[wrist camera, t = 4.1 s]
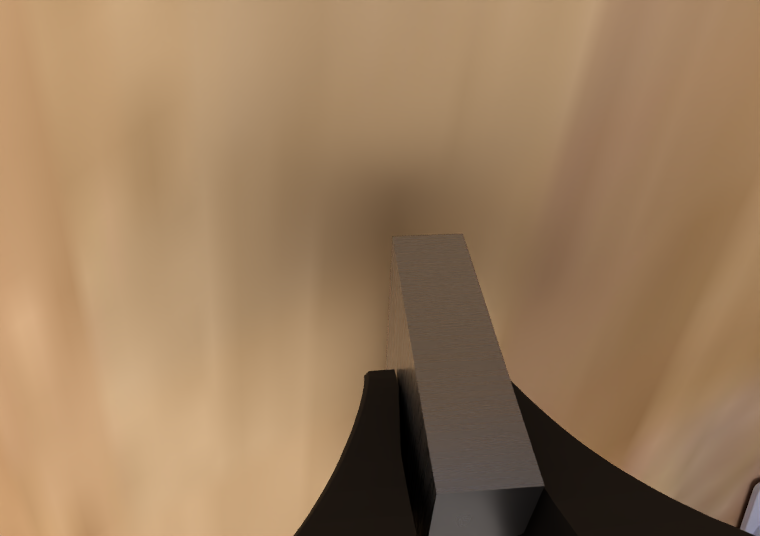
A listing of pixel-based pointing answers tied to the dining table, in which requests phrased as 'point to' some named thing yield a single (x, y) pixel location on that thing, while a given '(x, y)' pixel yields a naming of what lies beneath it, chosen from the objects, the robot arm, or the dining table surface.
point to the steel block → (455, 397)
